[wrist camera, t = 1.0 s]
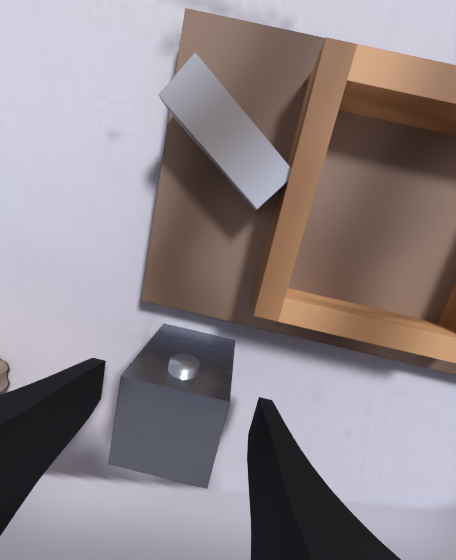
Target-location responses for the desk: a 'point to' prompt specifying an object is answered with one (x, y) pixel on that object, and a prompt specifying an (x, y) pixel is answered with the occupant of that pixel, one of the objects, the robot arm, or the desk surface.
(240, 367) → the desk surface
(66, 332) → the desk surface
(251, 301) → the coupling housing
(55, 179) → the desk surface
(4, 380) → the handle
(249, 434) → the robot arm
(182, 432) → the block
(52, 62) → the desk surface
